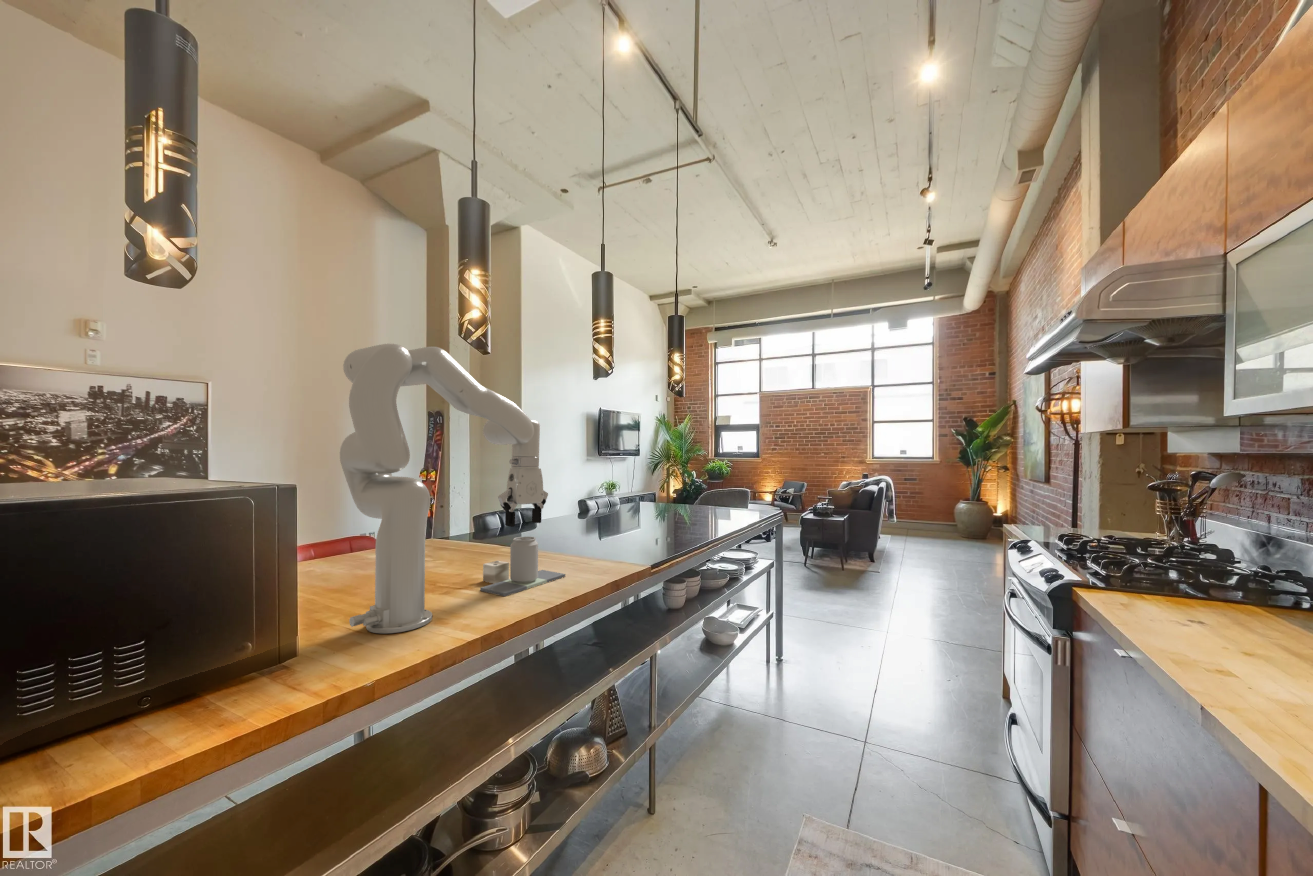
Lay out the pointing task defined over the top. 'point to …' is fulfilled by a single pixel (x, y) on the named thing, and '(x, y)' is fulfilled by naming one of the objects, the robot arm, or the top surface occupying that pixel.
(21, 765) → the top surface
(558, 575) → the board
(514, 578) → the can
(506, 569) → the die
